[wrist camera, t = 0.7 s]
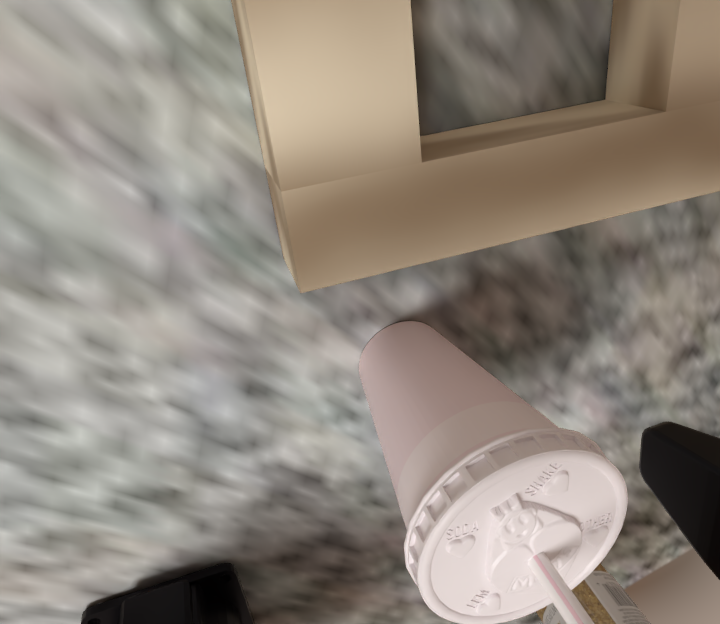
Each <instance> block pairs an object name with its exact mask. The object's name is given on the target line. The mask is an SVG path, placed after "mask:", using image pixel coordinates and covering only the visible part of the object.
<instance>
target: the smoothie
mask: <svg viewBox="0 0 720 624" xmlns="http://www.w3.org/2000/svg"><path fill="white" fill-rule="evenodd" d="M359 374H360V378H361V382H362V385H363V388H364V391H365V395H366V398H367V401H368V405H369V408H370V411H371V414H372V418H373V421H374V424H375V428H376V431H377V434H378V437H379V441H380V444H381V447H382V450H383V454H384V457H385V460H386V464H387V467H388V470H389V473H390V477H391V480H392V483H393V486H394V490H395V493H396V496H397V500H398V504H399V508H400V511H401V514H402V517H403V520H404V523H405V526H406V529H407V533H406V538H405V542H404V553H405V563H406V568H407V570H408V571H409V573H410V575H411V577H412V579H413V580H414V582H415V584H416V585H417V586H418V588H419V591H420V594H421V596H422V598H423V600H424V602H425V603H426V604H427V606H428V607H429V608H430V609H431V610H432V611H433V612H434V613H436V614H437V615H439V616H440V617H442V618H444V619H446V620H449V621H452V622H455V623H460V624H497V623H503V622H508V621H511V620H514V619H517V618H521V617H524V616H526V615H529V614H531V613H533V612H535V611H538V610H540V609H542V608H544V607H546V606H548V605H549V604H551V603H553V604H554V605H555V607H556V608H557V610H558V611H559V613H560V614H561V616H562V617H563V619H564V620H565V622H566V623H567V624H594V622H593V621H592V620H591V618H590V617H589V615H588V614H587V613H586V611H585V610H584V608H583V607H582V605H581V604H580V603H579V601H578V600H577V598H576V597H575V595H574V594H573V593H572V591H571V590H572V589H574V588H575V587H576V586H577V585H579V584H580V583H581V582H582V581H583V580H584V579H585V578H586V577H587V576H588V575H590V574H591V573H592V572H593V570H594V569H595V568H596V567H597V566H598V565H599V564H600V562H601V561H602V560H603V559H604V558H605V556H606V555H607V553H608V552H609V550H610V549H611V547H612V546H613V545H614V543H615V541H616V539H617V537H618V535H619V533H620V531H621V529H622V526H623V523H624V519H625V515H626V512H627V503H628V493H627V487H626V484H625V480H624V478H623V476H622V474H621V473H620V471H619V470H618V468H617V467H616V466H615V465H614V464H613V463H612V462H611V461H609V460H608V459H607V458H606V456H605V455H604V453H603V452H602V450H601V449H600V448H599V446H598V445H597V443H595V442H594V441H592V440H591V439H589V438H588V437H586V436H584V435H583V434H581V433H580V432H577V431H572V430H567V429H563V428H558V427H557V426H556V425H555V424H554V423H552V422H551V421H550V420H549V419H547V418H546V417H545V416H544V415H543V414H541V413H540V412H539V411H537V410H536V409H534V408H533V407H532V406H531V405H529V404H528V403H527V402H525V401H524V400H523V399H522V398H520V397H519V396H518V395H517V394H515V393H514V392H513V391H512V390H510V389H509V388H508V387H507V386H505V385H504V384H503V383H501V382H500V381H499V380H498V379H496V378H495V377H494V376H493V375H491V374H490V373H489V372H488V371H486V370H485V369H484V368H482V367H481V366H480V365H479V364H477V363H476V362H475V361H474V360H472V359H471V358H470V357H469V356H467V355H466V354H465V353H463V352H462V351H461V350H460V349H458V348H457V347H456V346H455V345H453V344H452V343H451V342H450V341H448V340H447V339H446V338H444V337H443V336H442V335H441V334H439V333H438V332H437V331H436V330H434V329H433V328H432V327H430V326H429V325H427V324H424V323H421V322H417V321H403V322H399V323H395V324H392V325H390V326H388V327H386V328H384V329H382V330H381V331H380V332H378V333H377V334H376V335H375V336H374V337H373V338H372V339H371V340H370V341H369V342H368V344H367V345H366V347H365V348H364V350H363V352H362V355H361V357H360V362H359Z"/></svg>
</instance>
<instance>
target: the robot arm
mask: <svg viewBox="0 0 720 624" xmlns="http://www.w3.org/2000/svg"><path fill="white" fill-rule="evenodd" d="M639 468H640V473H641V475H642V477H643V479H644V481H645V483H646V484H647V485H648V487H649V488H650V490H651V491H652V492H653V494H654V495H655V496H656V498H657V499H658V500H659V502H660V503H661V504H662V506H663V507H664V509H665V510H666V511H667V513H668V514H669V515H670V517H671V518H672V519H673V521H674V522H675V523H676V525H677V526H678V528H679V529H680V530H681V532H682V533H683V534H684V536H685V537H686V538H687V540H688V541H689V542H690V544H691V545H692V547H693V548H694V549H695V551H696V552H697V553H698V554H699V556H700V557H701V558H702V559H703V561H704V562H705V563H706V565H707V566H708V567H709V568H710V569H711V570H712V572H713V573H714V574H715V575H716V576H717V577H718V579H719V580H720V438H718V437H715V436H712V435H709V434H706V433H703V432H700V431H697V430H694V429H691V428H688V427H685V426H682V425H679V424H676V423H673V422H662V423H659V424H657V425H654V426H651V427H649V428H647V429H645V430H644V432H643V433H642V439H641V450H640V461H639ZM81 624H255V623H254V620H253V617H252V614H251V611H250V609H249V606H248V603H247V600H246V597H245V594H244V591H243V588H242V585H241V583H240V580H239V577H238V574H237V571H236V568H235V566H234V565H232V564H230V563H224V564H220V565H217V566H214V567H211V568H207V569H204V570H201V571H198V572H195V573H192V574H189V575H186V576H183V577H180V578H177V579H174V580H171V581H168V582H165V583H162V584H159V585H156V586H153V587H150V588H147V589H144V590H141V591H138V592H134V593H131V594H128V595H125V596H122V597H119V598H116V599H113V600H110V601H107V602H104V603H101V604H98V605H95V606H92V607H90V608H87V609H86V610H85V611H84V612H83V614H82V620H81Z"/></svg>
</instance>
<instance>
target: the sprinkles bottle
mask: <svg viewBox="0 0 720 624" xmlns="http://www.w3.org/2000/svg"><path fill="white" fill-rule="evenodd" d="M571 591H572V593H573V594H574V595H575V597H576V598H577V600H578V601H579V603H580V604H581V605H582V607H583V608H584V610H585V611H586V613H587V614H588V615H589V617H590V618H591V620H592V621H593V622H594V624H651V623H650V622H649V621H648V620H647V618H646V617H645V616H644V614H643V613H642V612H641V611H640V609H639V608H638V607H637V606H636V604H635V603H634V602H633V601H632V599H631V598H630V597H629V596H628V595H627V593H626V592H625V591H624V589H623V588H622V587H621V586H620V584H619V583H618V582H617V581H616V579H615V578H614V577H613V576H612V575H611V574H609V573H608V572H607V571H606V570H605V568H604V567H603V566H602V565H601V563H600V564H599V565H598V566H597V567H596V568H595V569H594V570H593V572H592V573H591V574H590V575H588V576H587V577H586V578H585V579H584V580H583V581H582V582H581V583H580V584H579V585H577V586H576V587H575V588H574V589H572V590H571ZM536 612H537V614H538V616H539V617H540V619H541V621H542V622H543V624H567V623H566V622H565V620H564V619H563V617H562V616H561V614H560V613H559V611H558V610H557V608H556V607H555V605H554V604H553V603H551V604H549V605H548V606H546V607H544V608H542V609H540V610H538V611H536Z"/></svg>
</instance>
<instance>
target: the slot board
mask: <svg viewBox="0 0 720 624" xmlns="http://www.w3.org/2000/svg"><path fill="white" fill-rule="evenodd" d="M231 2H232V7H233V12H234V17H235V22H236V27H237V32H238V36H239V41H240V46H241V51H242V56H243V61H244V66H245V71H246V76H247V81H248V86H249V91H250V96H251V100H252V105H253V110H254V115H255V120H256V125H257V130H258V135H259V140H260V145H261V150H262V155H263V160H264V165H265V169H266V174H267V179H268V184H269V189H270V194H271V199H272V204H273V209H274V214H275V219H276V224H277V229H278V233H279V238H280V243H281V248H282V253H283V258H284V260H285V262H286V264H287V266H288V268H289V270H290V272H291V274H292V276H293V278H294V280H295V282H296V284H297V287H298V289H299V291H300V293H304V292H308V291H312V290H316V289H320V288H324V287H328V286H333V285H337V284H341V283H345V282H349V281H353V280H357V279H361V278H365V277H369V276H374V275H378V274H382V273H386V272H390V271H394V270H398V269H402V268H406V267H410V266H414V265H419V264H423V263H427V262H431V261H435V260H439V259H443V258H447V257H451V256H455V255H460V254H464V253H468V252H472V251H476V250H480V249H484V248H488V247H492V246H496V245H501V244H505V243H509V242H513V241H517V240H521V239H525V238H529V237H533V236H537V235H542V234H546V233H550V232H554V231H558V230H562V229H566V228H570V227H574V226H578V225H582V224H587V223H591V222H595V221H599V220H603V219H607V218H611V217H615V216H619V215H623V214H628V213H632V212H636V211H640V210H644V209H648V208H652V207H656V206H660V205H664V204H669V203H673V202H677V201H681V200H685V199H689V198H693V197H697V196H701V195H705V194H710V193H714V192H718V191H720V0H613V11H612V23H611V36H610V48H609V61H608V73H607V85H606V98H605V100H601V101H596V102H591V103H586V104H581V105H576V106H571V107H566V108H561V109H556V110H551V111H546V112H541V113H536V114H531V115H526V116H521V117H516V118H510V119H505V120H500V121H495V122H490V123H485V124H480V125H475V126H470V127H465V128H460V129H455V130H450V131H445V132H440V133H435V134H430V135H425V136H420V130H419V115H418V101H417V87H416V73H415V58H414V44H413V30H412V16H411V1H410V0H231Z"/></svg>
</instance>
